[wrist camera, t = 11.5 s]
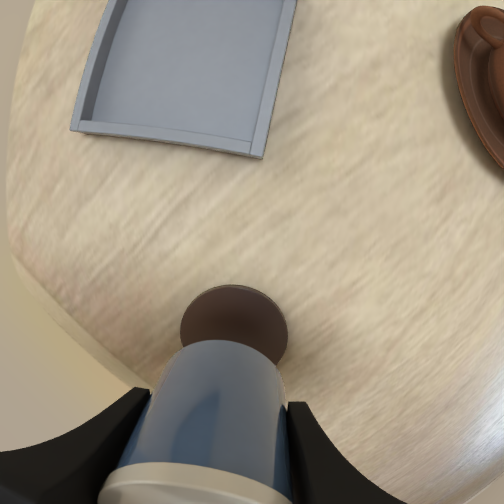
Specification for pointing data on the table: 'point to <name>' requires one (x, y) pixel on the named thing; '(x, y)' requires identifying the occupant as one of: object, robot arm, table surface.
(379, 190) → the table surface
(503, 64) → the cup and saucer
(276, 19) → the tray
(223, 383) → the canister
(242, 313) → the coaster
